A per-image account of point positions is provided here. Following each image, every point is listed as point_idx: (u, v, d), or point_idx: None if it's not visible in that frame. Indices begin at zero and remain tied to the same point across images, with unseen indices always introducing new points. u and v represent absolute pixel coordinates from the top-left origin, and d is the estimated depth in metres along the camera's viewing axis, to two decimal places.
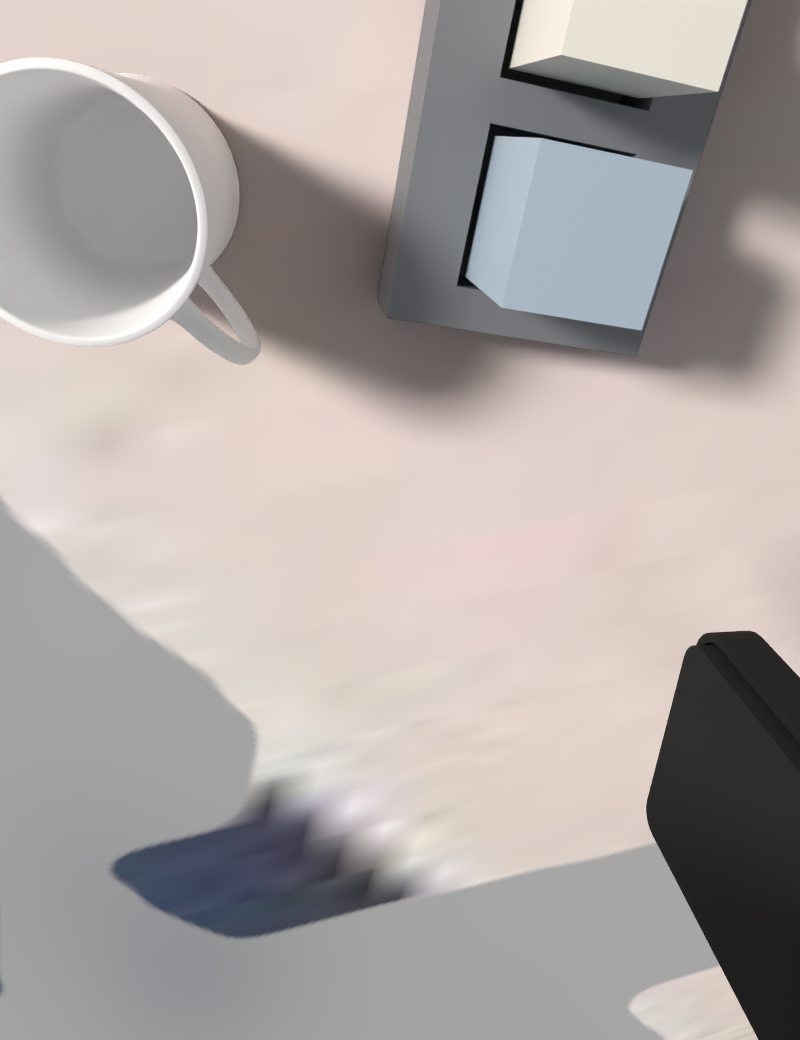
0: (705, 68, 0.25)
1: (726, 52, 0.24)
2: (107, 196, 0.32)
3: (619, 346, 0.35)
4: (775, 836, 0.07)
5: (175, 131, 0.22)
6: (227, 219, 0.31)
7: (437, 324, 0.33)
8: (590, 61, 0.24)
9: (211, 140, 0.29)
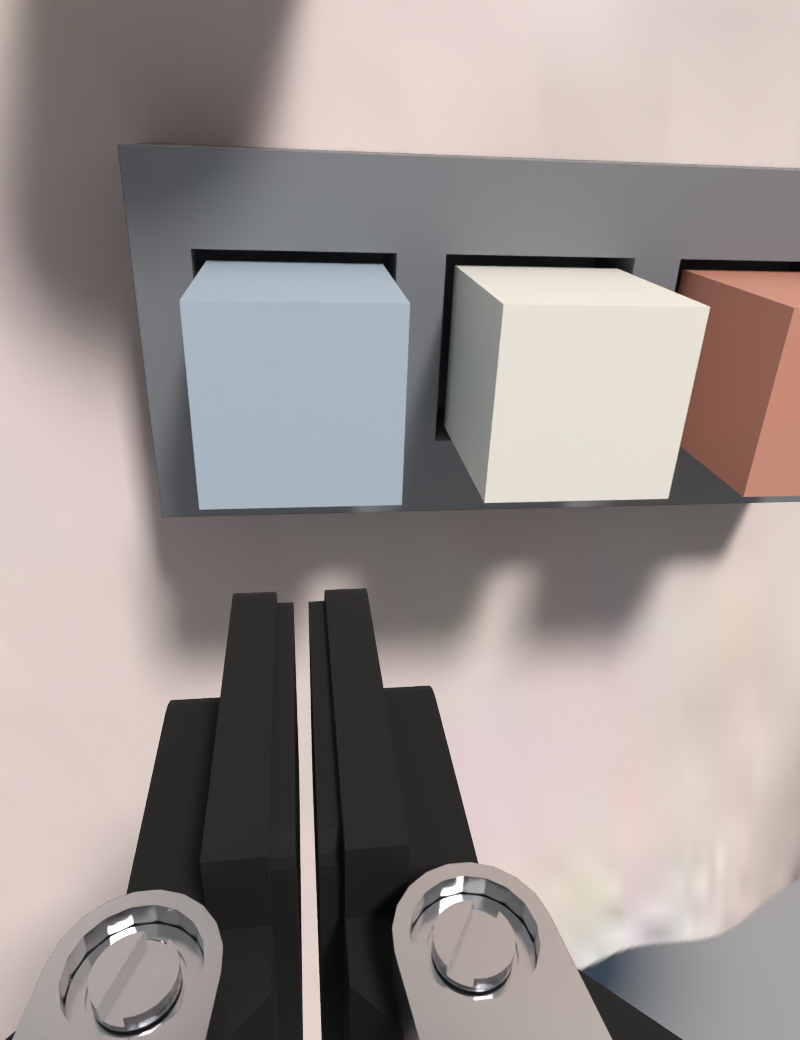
0: (505, 480, 0.21)
1: (522, 497, 0.22)
2: None
3: (169, 492, 0.27)
4: (313, 771, 0.08)
5: None
6: None
7: (129, 230, 0.23)
8: (499, 344, 0.20)
9: None
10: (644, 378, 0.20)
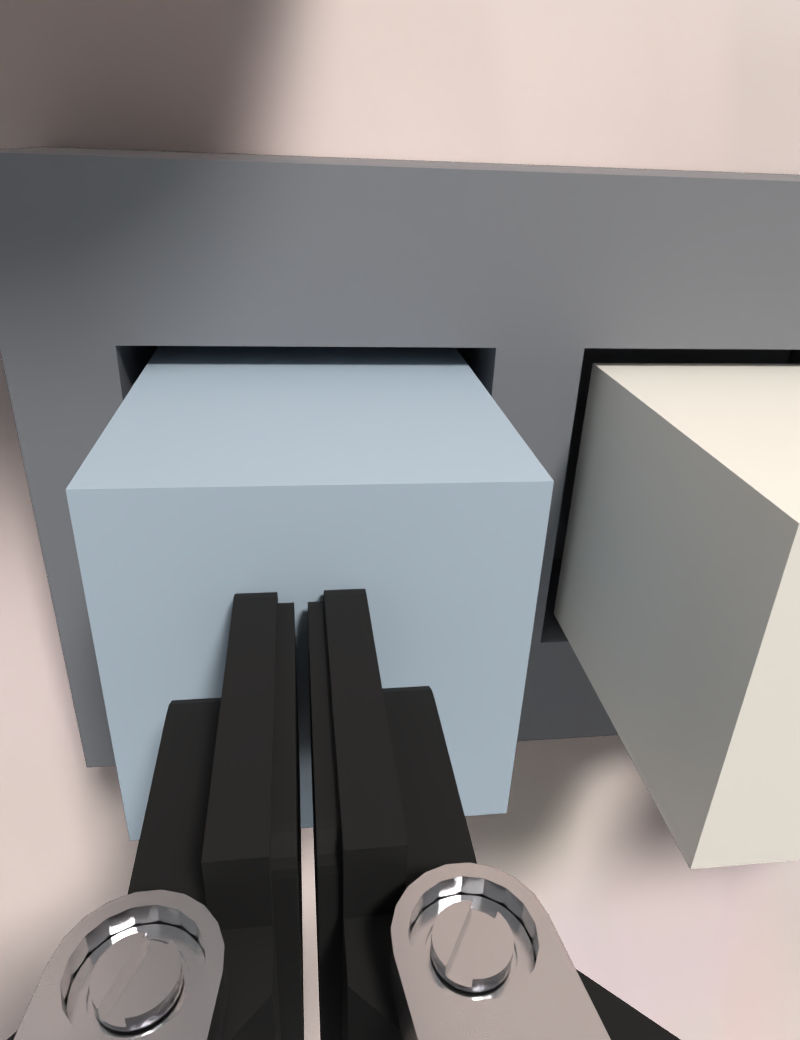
0: (737, 832, 0.11)
1: (764, 856, 0.11)
2: None
3: (96, 732, 0.16)
4: None
5: None
6: None
7: None
8: (772, 599, 0.09)
9: None
10: None
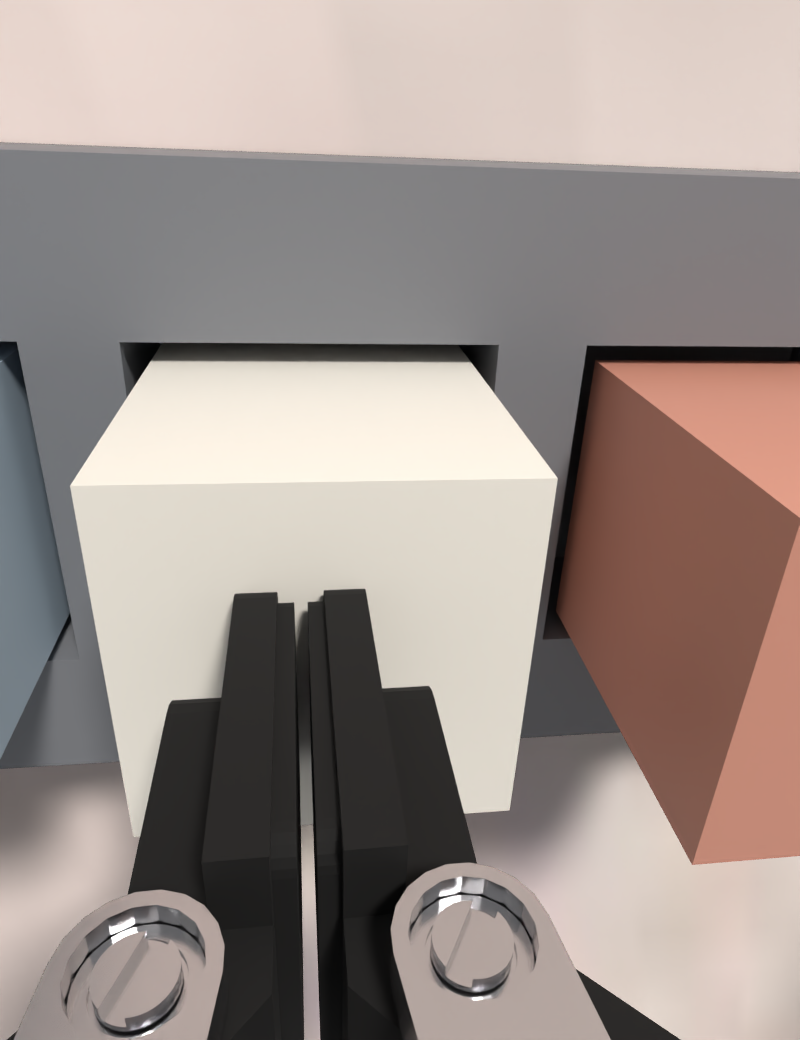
0: None
1: None
2: None
3: None
4: None
5: None
6: None
7: None
8: (86, 563, 0.09)
9: None
10: (430, 616, 0.10)
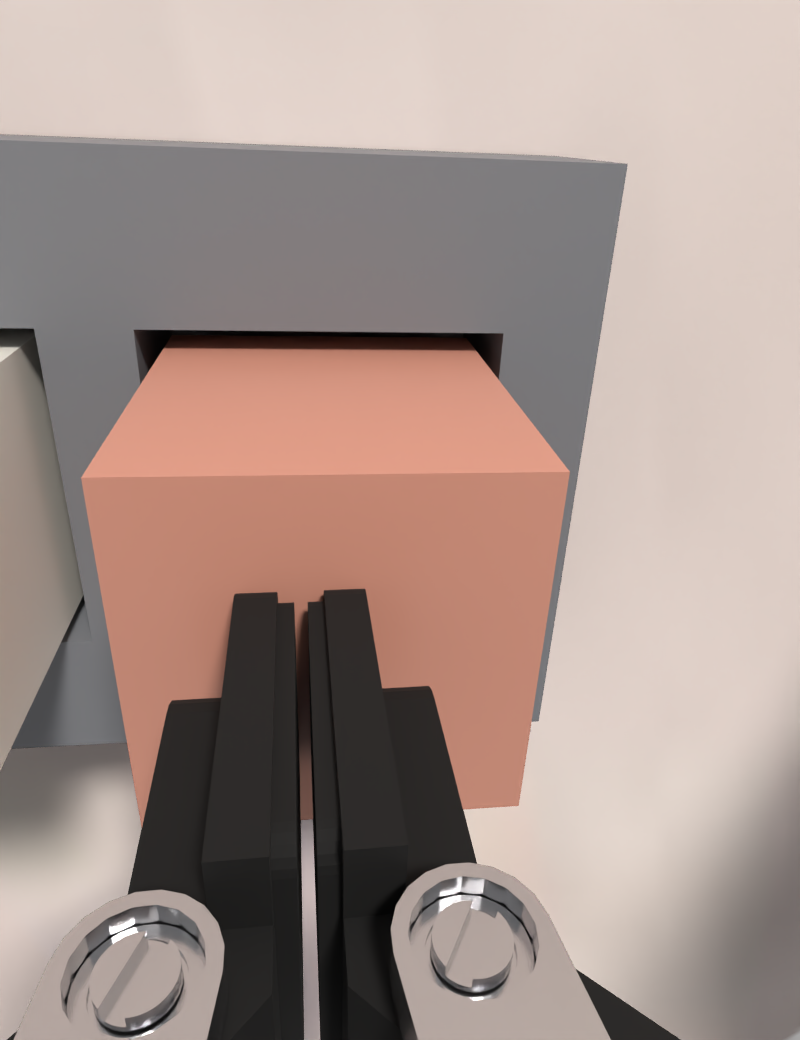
0: None
1: None
2: None
3: None
4: None
5: None
6: None
7: None
8: None
9: None
10: None
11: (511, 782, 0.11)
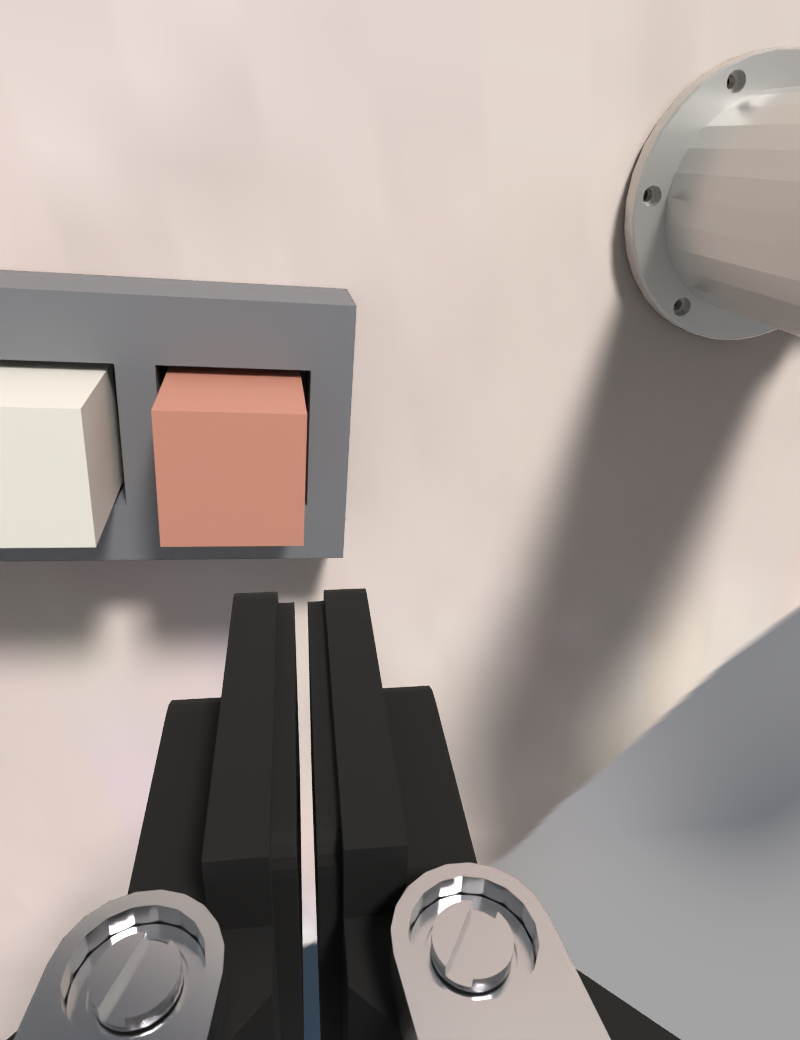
0: None
1: None
2: None
3: None
4: (312, 772, 0.08)
5: None
6: None
7: None
8: None
9: None
10: (43, 458, 0.27)
11: (299, 534, 0.30)
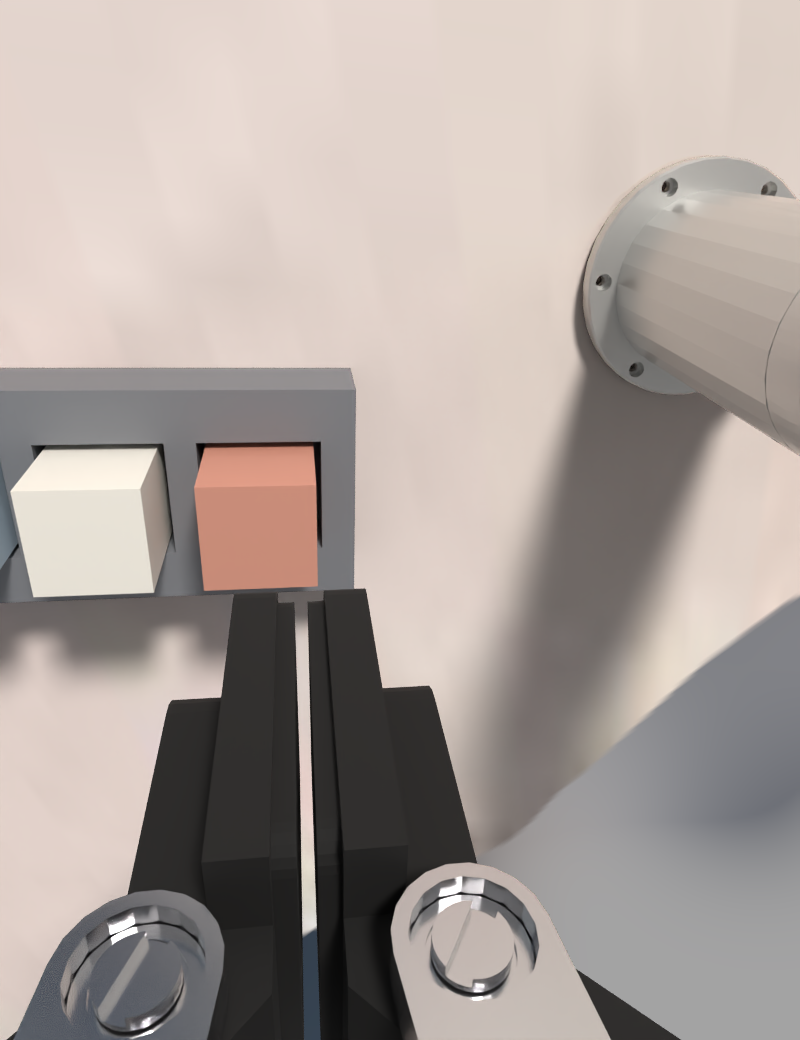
0: (42, 584, 0.36)
1: (57, 593, 0.36)
2: None
3: None
4: (312, 772, 0.08)
5: None
6: None
7: None
8: (15, 511, 0.34)
9: None
10: (112, 527, 0.35)
11: (314, 577, 0.38)
